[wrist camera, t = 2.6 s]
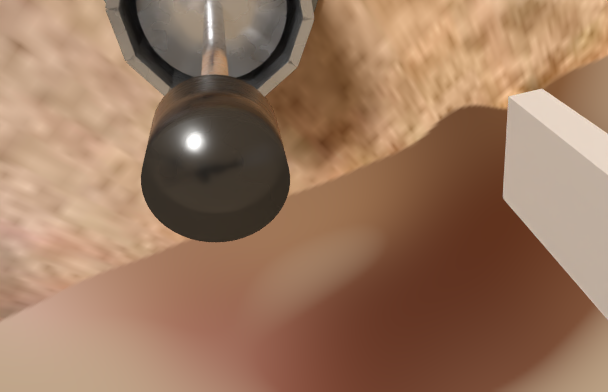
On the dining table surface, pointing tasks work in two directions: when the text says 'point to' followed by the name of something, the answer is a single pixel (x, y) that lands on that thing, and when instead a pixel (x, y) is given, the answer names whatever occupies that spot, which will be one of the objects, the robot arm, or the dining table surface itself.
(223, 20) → the plunger
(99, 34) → the dining table surface
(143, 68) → the faceted metal cup
